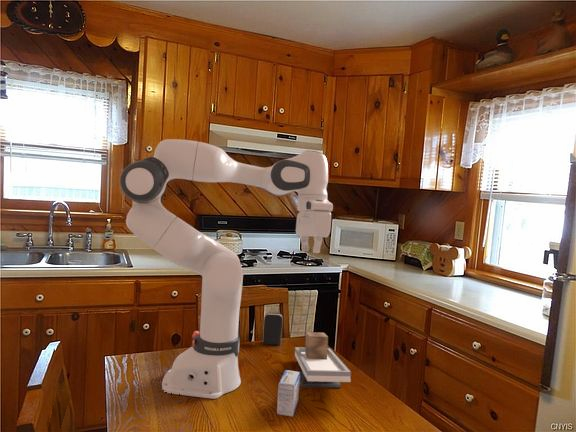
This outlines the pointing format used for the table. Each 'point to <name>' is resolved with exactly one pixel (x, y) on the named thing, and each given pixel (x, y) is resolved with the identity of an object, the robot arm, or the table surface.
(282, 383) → the medicine box
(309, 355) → the walnut block
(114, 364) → the table surface
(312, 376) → the white flat rectangular tray
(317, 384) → the pivot stand
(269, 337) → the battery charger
